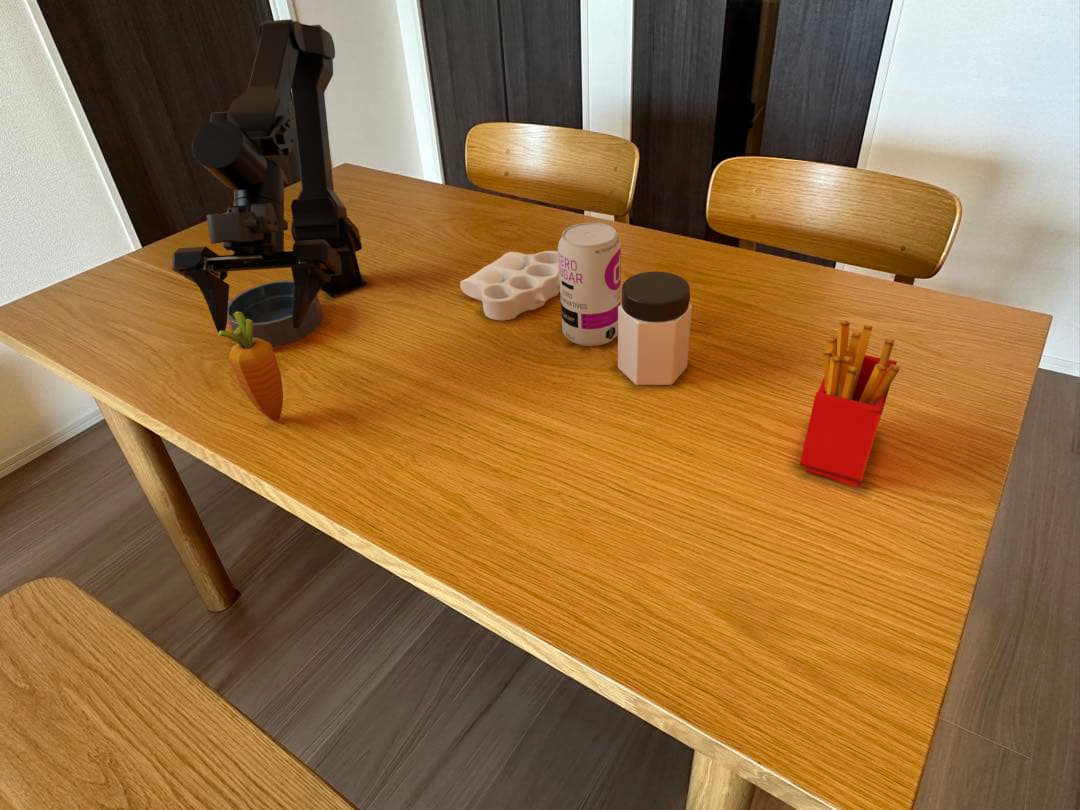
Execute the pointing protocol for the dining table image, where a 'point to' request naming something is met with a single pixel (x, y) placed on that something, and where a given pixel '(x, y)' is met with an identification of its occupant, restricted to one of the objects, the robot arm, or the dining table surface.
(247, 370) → the carrot
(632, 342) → the jar
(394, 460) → the dining table surface
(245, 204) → the robot arm
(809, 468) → the french fries container
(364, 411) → the dining table surface
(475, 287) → the white holed block
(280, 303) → the bowl
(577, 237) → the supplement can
